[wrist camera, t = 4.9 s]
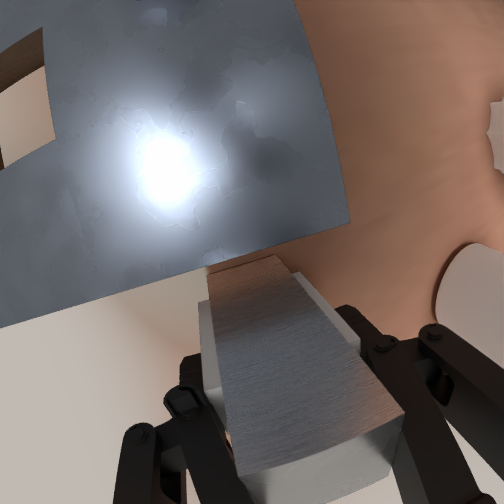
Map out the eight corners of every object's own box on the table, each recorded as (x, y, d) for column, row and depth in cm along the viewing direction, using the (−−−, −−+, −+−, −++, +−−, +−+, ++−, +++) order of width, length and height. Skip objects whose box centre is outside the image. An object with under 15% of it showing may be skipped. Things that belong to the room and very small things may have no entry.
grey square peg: (206, 275, 16) (238, 476, 5) (275, 254, 17) (405, 412, 5) (226, 333, 18) (272, 519, 6) (289, 313, 18) (388, 475, 7)
